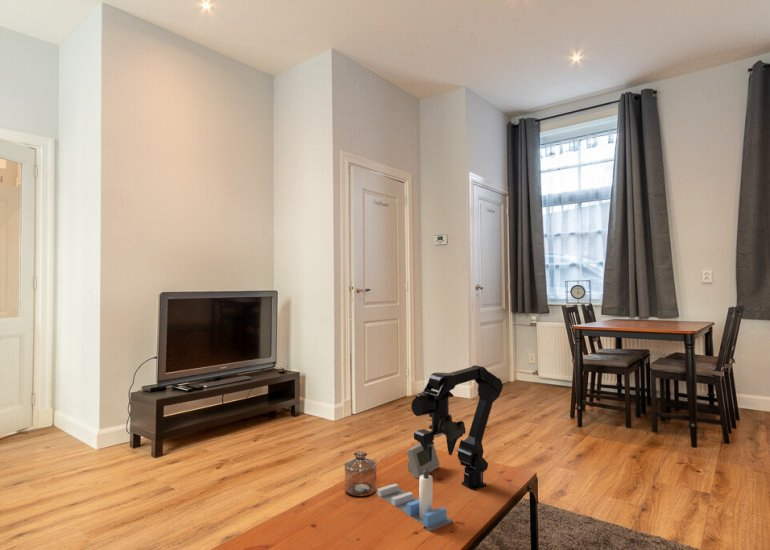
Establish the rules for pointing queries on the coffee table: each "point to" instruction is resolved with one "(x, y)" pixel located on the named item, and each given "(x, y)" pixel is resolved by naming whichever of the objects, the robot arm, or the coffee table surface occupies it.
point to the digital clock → (421, 460)
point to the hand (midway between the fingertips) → (440, 457)
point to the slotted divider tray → (414, 507)
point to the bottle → (425, 493)
